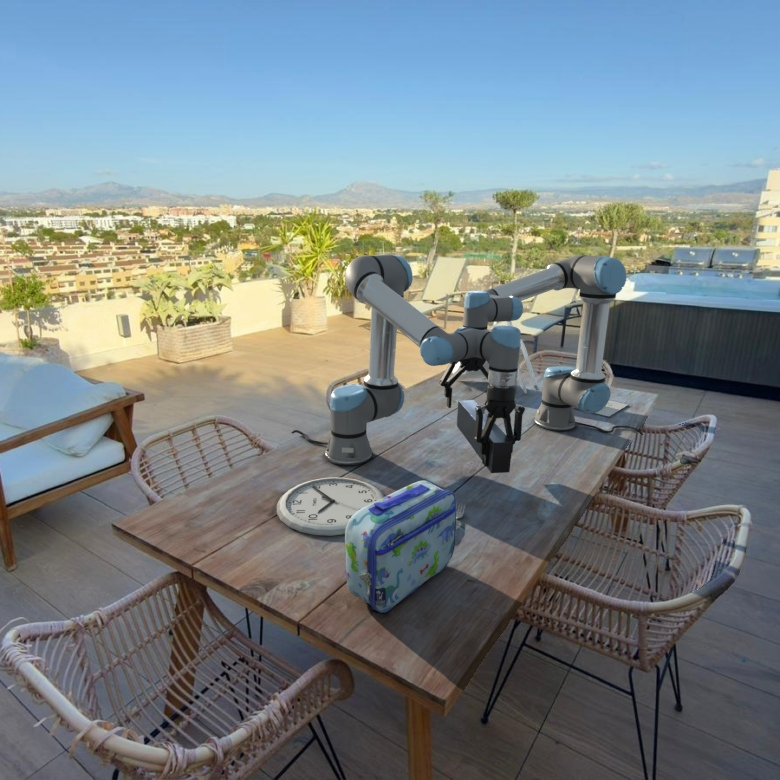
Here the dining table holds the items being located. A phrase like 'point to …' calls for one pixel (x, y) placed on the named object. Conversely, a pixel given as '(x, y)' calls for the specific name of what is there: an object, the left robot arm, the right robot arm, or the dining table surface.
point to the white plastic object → (522, 352)
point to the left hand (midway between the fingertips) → (495, 463)
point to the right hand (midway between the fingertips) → (469, 406)
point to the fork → (459, 514)
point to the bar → (497, 440)
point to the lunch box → (399, 543)
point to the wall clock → (325, 504)
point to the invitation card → (611, 408)
